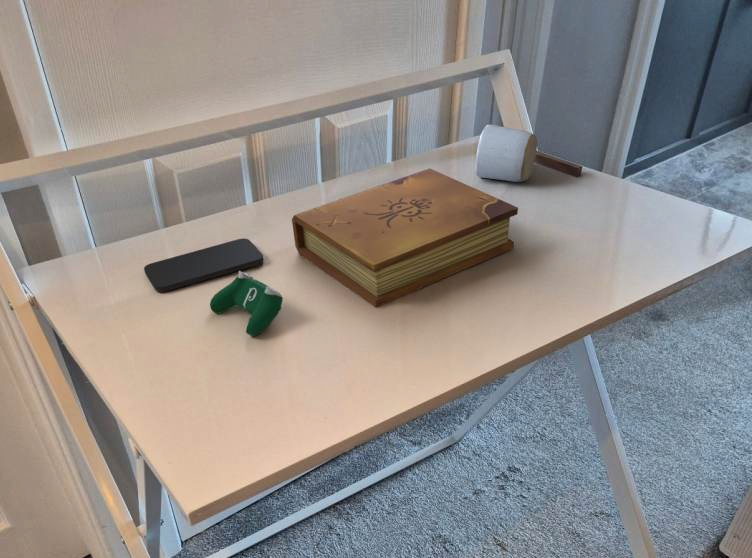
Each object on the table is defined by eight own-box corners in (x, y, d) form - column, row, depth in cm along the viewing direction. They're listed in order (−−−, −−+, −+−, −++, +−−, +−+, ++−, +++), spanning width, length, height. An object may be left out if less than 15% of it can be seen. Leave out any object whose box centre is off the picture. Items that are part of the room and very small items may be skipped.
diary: (426, 205, 103) (426, 166, 99) (513, 249, 91) (518, 207, 87) (295, 252, 93) (290, 211, 90) (375, 307, 82) (373, 263, 78)
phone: (141, 265, 91) (246, 236, 95) (143, 271, 91) (247, 242, 96) (156, 289, 86) (265, 257, 91) (157, 295, 87) (266, 263, 91)
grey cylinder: (524, 190, 105) (530, 137, 100) (473, 183, 108) (476, 132, 102) (539, 166, 112) (546, 116, 107) (491, 161, 115) (495, 112, 109)
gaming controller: (270, 345, 80) (294, 300, 79) (248, 335, 77) (273, 288, 76) (226, 317, 85) (248, 274, 84) (204, 306, 82) (226, 262, 81)
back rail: (581, 175, 108) (582, 166, 107) (576, 177, 108) (578, 167, 107) (516, 152, 117) (517, 143, 116) (512, 154, 116) (513, 145, 115)
